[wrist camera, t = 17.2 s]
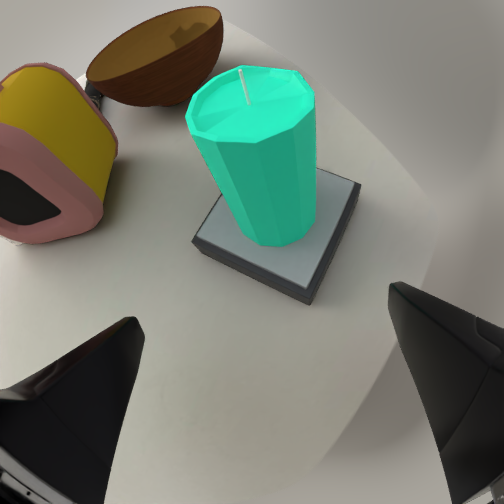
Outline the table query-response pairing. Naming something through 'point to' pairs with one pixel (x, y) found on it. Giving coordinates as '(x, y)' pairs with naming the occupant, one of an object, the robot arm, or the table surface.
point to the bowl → (160, 58)
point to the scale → (292, 255)
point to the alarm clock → (51, 156)
